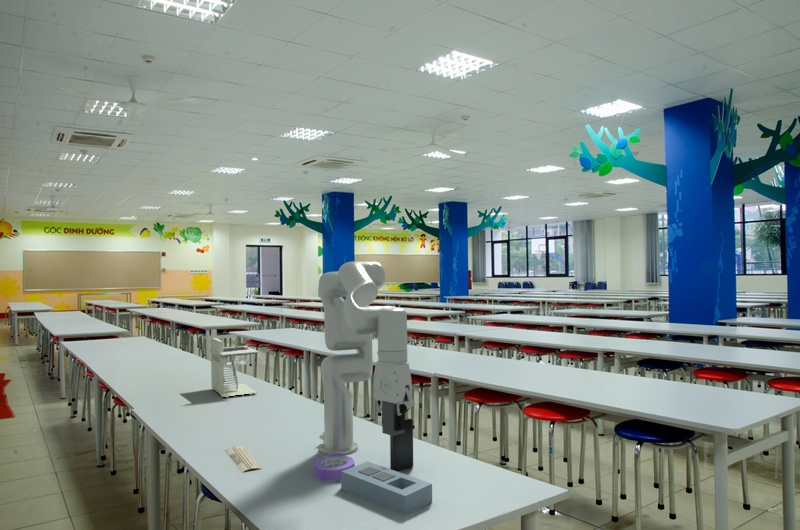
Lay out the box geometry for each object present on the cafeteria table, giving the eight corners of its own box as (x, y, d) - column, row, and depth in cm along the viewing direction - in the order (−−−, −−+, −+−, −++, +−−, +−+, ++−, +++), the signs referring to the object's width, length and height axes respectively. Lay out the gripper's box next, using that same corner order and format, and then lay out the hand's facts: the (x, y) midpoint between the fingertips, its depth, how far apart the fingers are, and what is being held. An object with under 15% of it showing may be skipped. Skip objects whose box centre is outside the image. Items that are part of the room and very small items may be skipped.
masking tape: (326, 486, 148) (326, 472, 148) (307, 473, 158) (307, 460, 158) (362, 476, 155) (362, 463, 155) (342, 464, 165) (342, 452, 165)
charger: (382, 432, 136) (381, 396, 136) (393, 429, 139) (393, 394, 139) (393, 436, 133) (392, 399, 134) (404, 432, 136) (404, 396, 136)
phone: (411, 467, 161) (410, 417, 161) (413, 468, 160) (412, 418, 160) (390, 473, 156) (389, 422, 156) (392, 474, 155) (391, 423, 156)
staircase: (261, 392, 263) (260, 332, 264) (223, 397, 254) (222, 335, 254) (246, 383, 287) (246, 327, 287) (211, 387, 278) (210, 329, 278)
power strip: (331, 485, 148) (331, 466, 148) (358, 475, 155) (358, 457, 155) (405, 516, 129) (405, 495, 129) (432, 503, 136) (432, 482, 136)
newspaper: (261, 472, 160) (261, 466, 160) (237, 477, 157) (237, 471, 157) (243, 450, 181) (243, 444, 181) (221, 453, 177) (221, 448, 177)
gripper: (360, 355, 140) (361, 425, 140) (406, 362, 128) (407, 438, 128) (380, 351, 145) (381, 419, 145) (426, 358, 133) (427, 431, 133)
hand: (393, 427), depth 136 cm, fingers closed on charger, 4 cm apart
